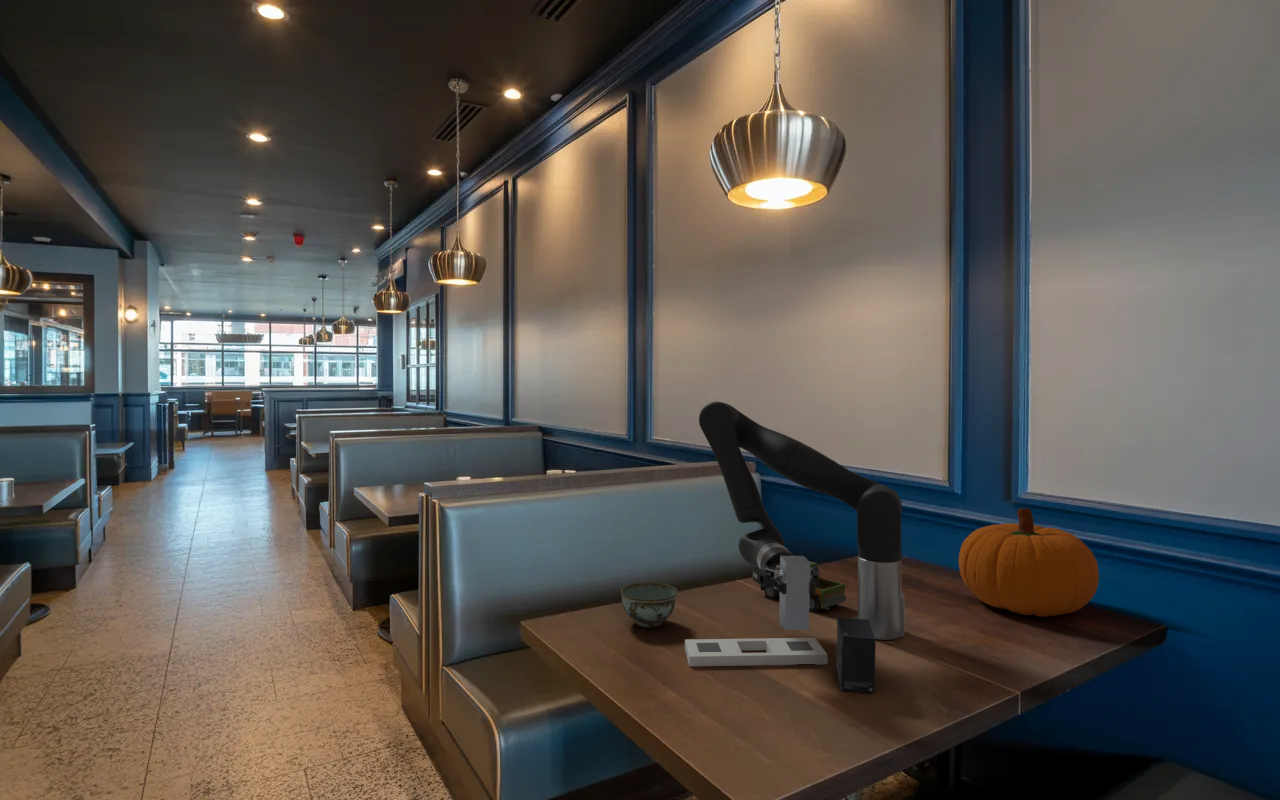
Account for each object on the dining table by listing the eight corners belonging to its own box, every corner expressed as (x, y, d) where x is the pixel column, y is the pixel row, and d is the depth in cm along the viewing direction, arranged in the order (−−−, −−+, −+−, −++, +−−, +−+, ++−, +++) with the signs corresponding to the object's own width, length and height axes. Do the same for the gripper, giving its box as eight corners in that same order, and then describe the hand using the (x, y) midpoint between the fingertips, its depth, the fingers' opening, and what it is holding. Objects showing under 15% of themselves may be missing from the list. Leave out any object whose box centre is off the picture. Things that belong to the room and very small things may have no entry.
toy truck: (782, 588, 187) (783, 552, 187) (849, 607, 171) (850, 568, 170) (755, 596, 180) (755, 559, 180) (822, 617, 163) (822, 576, 163)
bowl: (613, 617, 163) (613, 584, 163) (665, 611, 168) (665, 579, 167) (630, 637, 151) (630, 601, 150) (686, 630, 155) (686, 595, 155)
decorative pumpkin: (1120, 611, 167) (1121, 511, 167) (1062, 637, 150) (1064, 525, 150) (995, 581, 193) (996, 494, 192) (934, 600, 176) (935, 505, 175)
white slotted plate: (814, 646, 145) (814, 637, 145) (827, 664, 136) (827, 654, 136) (684, 648, 144) (684, 639, 144) (689, 666, 135) (689, 656, 135)
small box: (877, 694, 122) (877, 637, 122) (840, 691, 124) (840, 635, 124) (869, 670, 133) (869, 618, 133) (835, 667, 134) (835, 615, 134)
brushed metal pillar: (802, 621, 132) (803, 555, 132) (808, 630, 128) (810, 562, 127) (779, 621, 132) (780, 555, 132) (784, 630, 128) (786, 562, 127)
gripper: (744, 546, 144) (761, 569, 127) (810, 546, 144) (836, 569, 127) (743, 581, 144) (760, 608, 127) (810, 581, 144) (835, 608, 127)
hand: (798, 589), depth 127 cm, fingers closed on brushed metal pillar, 4 cm apart
